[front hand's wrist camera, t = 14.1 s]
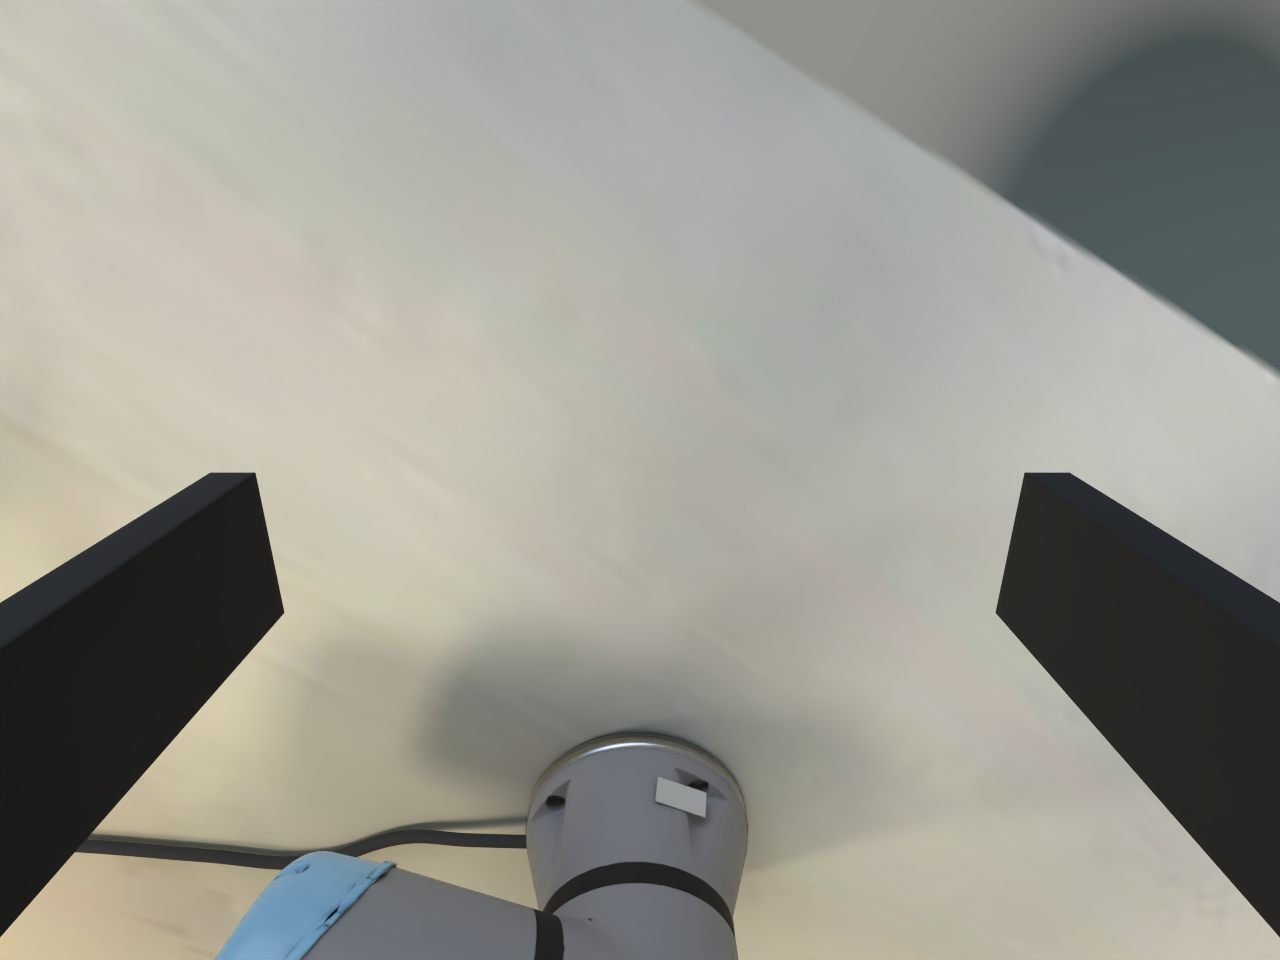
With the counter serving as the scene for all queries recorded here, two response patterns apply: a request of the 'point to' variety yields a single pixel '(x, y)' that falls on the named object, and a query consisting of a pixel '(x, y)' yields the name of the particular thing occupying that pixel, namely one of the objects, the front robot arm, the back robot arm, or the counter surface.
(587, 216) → the counter surface
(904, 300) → the counter surface
